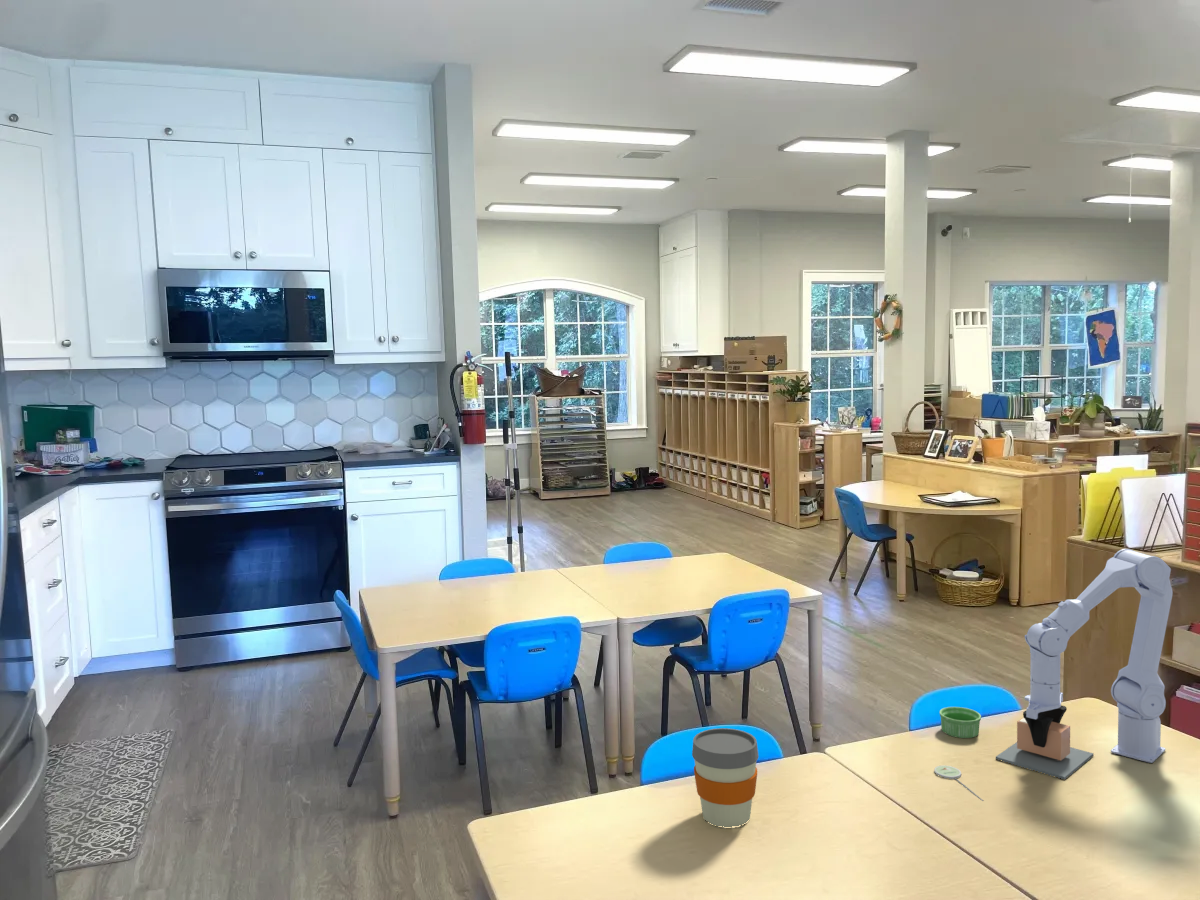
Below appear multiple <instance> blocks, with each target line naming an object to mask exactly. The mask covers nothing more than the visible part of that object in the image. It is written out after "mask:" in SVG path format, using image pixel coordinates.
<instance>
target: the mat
mask: <svg viewBox="0 0 1200 900" xmlns="http://www.w3.org/2000/svg"><path fill="white" fill-rule="evenodd" d="M1092 756H1093V757H1094V753H1093V752H1089V751H1086V750H1082V749H1080V748H1074V747H1071V746H1070V754H1069V755H1067V756H1066V757H1065V758H1064V759H1062V760H1057V759H1054V758H1050V757H1047V756H1043V755H1039V754H1036V753H1032V752H1029V751H1025V750H1021V749H1018V748H1017V741H1016V742H1015V743H1013V744H1012V745H1010V746H1009V747H1008V748H1006V749H1005V750H1003V751H1002V752H1000V753H999V754H997V755H996V756H995V760H996V759H998V760H997V761H999V760H1002V761H1001V762H1003V761H1004V763H1006V762H1008V763H1007V764H1009V763H1011V764H1010V765H1013V764H1014V766H1016V765H1017V766H1016V767H1020V766H1021V767H1020V768H1023V767H1024V769H1026V768H1028V769H1027V770H1030V769H1031V770H1030V771H1033V770H1035V771H1034V772H1036V771H1038V772H1037V773H1040V772H1042V773H1041V774H1043V773H1045V774H1044V775H1046V774H1048V775H1047V776H1050V775H1051V776H1050V777H1053V776H1055V777H1054V778H1056V777H1058V778H1057V779H1060V778H1061V779H1060V780H1063V779H1065V780H1067V779H1068V778H1069V777H1070V776H1071V775H1072V774H1074V773H1075V772H1076V771H1078V770H1079V769H1080V768H1081V767H1082V766H1084V765H1085V764H1086V763H1087V762H1088V761H1089V760H1090V759H1092V758H1093V757H1092ZM1091 757H1092V758H1091ZM1085 762H1086V763H1085ZM1079 767H1080V768H1079ZM1074 771H1075V772H1074ZM1073 772H1074V773H1073ZM1069 775H1070V776H1069ZM1068 776H1069V777H1068ZM1067 777H1068V778H1067ZM1066 778H1067V779H1066Z"/></svg>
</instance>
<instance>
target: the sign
mask: <svg viewBox="0 0 1200 900" xmlns="http://www.w3.org/2000/svg"><path fill="white" fill-rule="evenodd" d="M935 773H936V774H937V775H936V774H935ZM934 774H935V775H936V776H938V775H939V776H941V777H940V778H942V777H944V778H943V779H946V778H949V779H948V780H955V781H956V780H957V781H958V782H957V781H956V782H957V783H959V784H960V783H961V784H962V785H963V786H962V785H961V784H960V785H961V786H962V787H964V788H965V789H966V788H967V789H966V790H968V792H970V793H972V794H973V795H974V796H975V797H976V798H978V800H980V801H982V802H984V801H985V800H983V799H982V798H981V797H980V796H979V795H977V794H976V793H975V792H974V791H973V790H971V789H970V788H969V787H968V786H966V785H965V784H964V783H962V781H960V780H959V779H960V778H961V777H962V771H961V770H960V769H959V768H957V767H954V766H952V765H938V766H935V767H934ZM939 776H938V777H939ZM959 777H960V778H959ZM956 778H957V779H956Z"/></svg>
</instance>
